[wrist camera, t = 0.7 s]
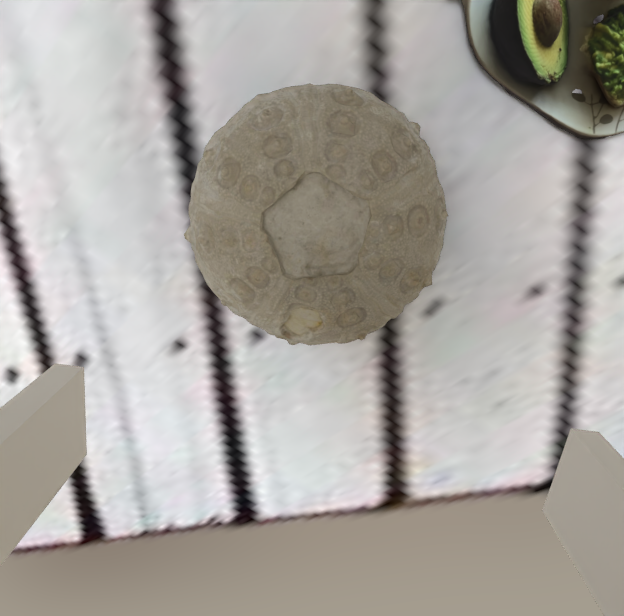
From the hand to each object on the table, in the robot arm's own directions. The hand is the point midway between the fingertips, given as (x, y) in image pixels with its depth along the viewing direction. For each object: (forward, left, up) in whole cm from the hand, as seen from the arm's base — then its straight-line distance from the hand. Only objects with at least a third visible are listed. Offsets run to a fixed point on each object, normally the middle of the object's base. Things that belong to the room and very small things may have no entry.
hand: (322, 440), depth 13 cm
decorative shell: (-3, 0, -27) cm, 27 cm away
